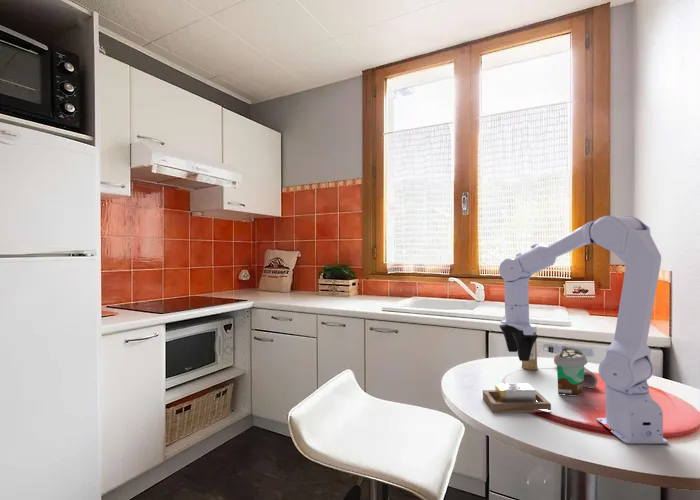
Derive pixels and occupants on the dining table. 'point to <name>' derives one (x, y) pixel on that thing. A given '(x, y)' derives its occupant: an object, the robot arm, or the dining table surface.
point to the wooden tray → (514, 404)
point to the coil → (585, 376)
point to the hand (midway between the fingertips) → (518, 355)
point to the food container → (570, 371)
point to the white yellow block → (515, 393)
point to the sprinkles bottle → (532, 355)
